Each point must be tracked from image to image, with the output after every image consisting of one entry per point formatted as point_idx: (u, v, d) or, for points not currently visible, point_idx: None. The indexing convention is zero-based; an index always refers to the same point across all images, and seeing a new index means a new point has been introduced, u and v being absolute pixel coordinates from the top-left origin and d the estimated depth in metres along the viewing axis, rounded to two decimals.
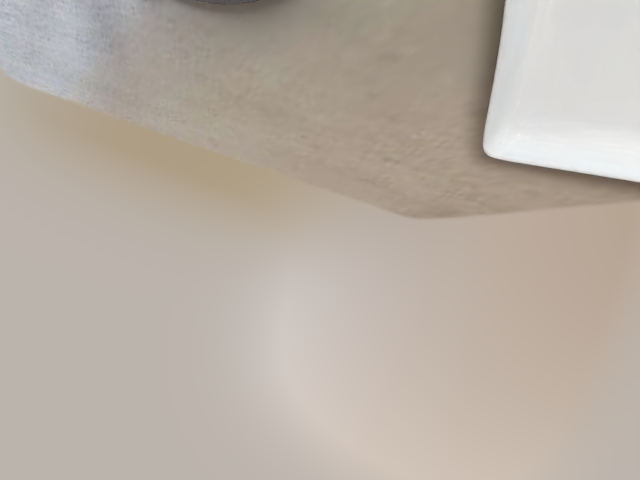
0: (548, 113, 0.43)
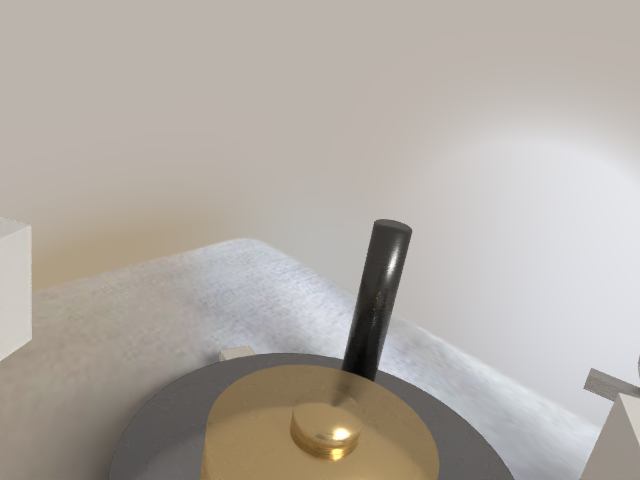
0: None
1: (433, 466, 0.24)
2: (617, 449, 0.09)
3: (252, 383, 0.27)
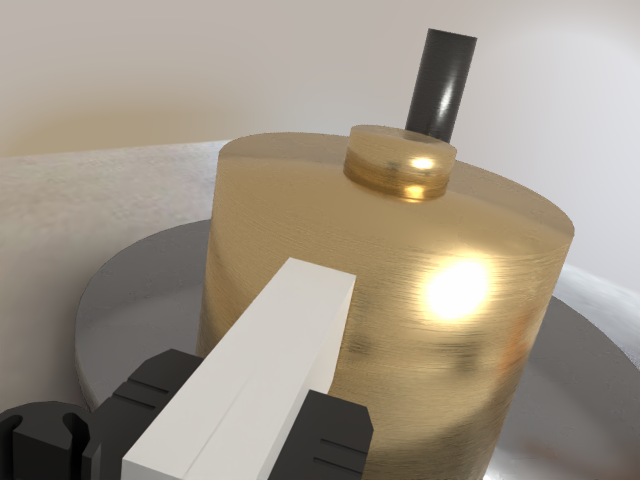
0: None
1: (563, 220, 0.16)
2: None
3: (283, 138, 0.19)
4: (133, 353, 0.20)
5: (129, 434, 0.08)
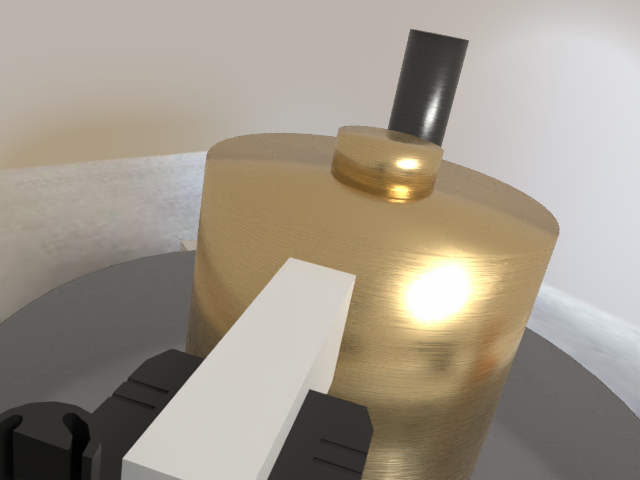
0: None
1: (548, 219, 0.16)
2: None
3: (271, 139, 0.19)
4: None
5: (129, 434, 0.08)
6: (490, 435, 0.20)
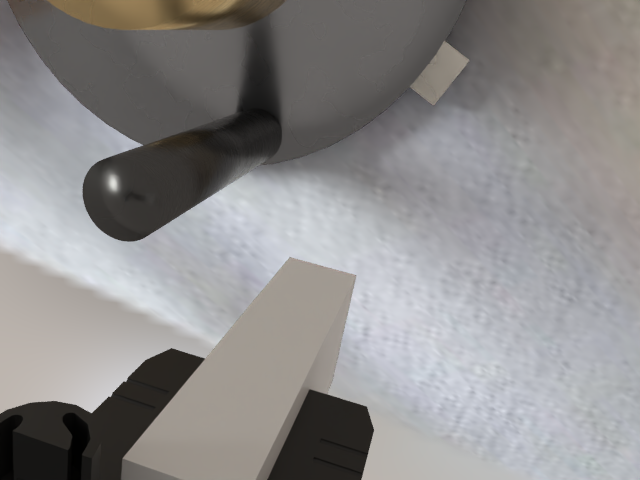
0: None
1: None
2: None
3: None
4: None
5: (129, 434, 0.08)
6: None
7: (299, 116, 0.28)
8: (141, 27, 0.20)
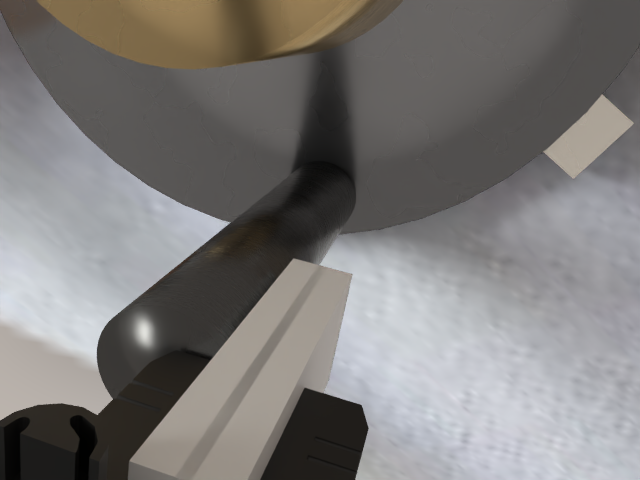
0: None
1: None
2: None
3: None
4: None
5: (135, 436, 0.08)
6: None
7: (382, 176, 0.21)
8: (199, 67, 0.13)
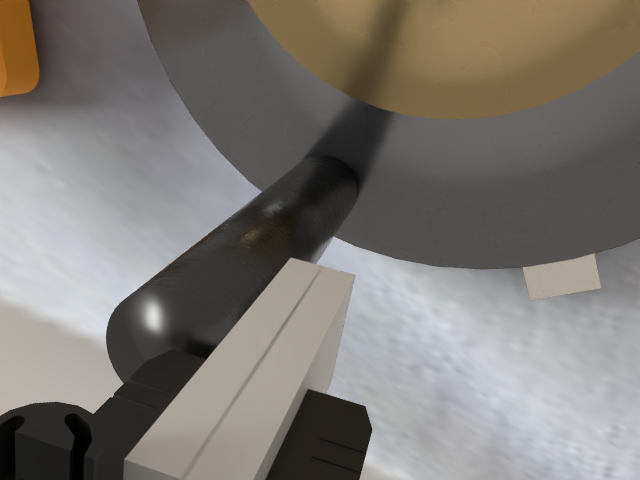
0: None
1: None
2: None
3: (603, 35, 0.11)
4: None
5: (131, 435, 0.08)
6: None
7: (385, 206, 0.21)
8: (329, 82, 0.12)
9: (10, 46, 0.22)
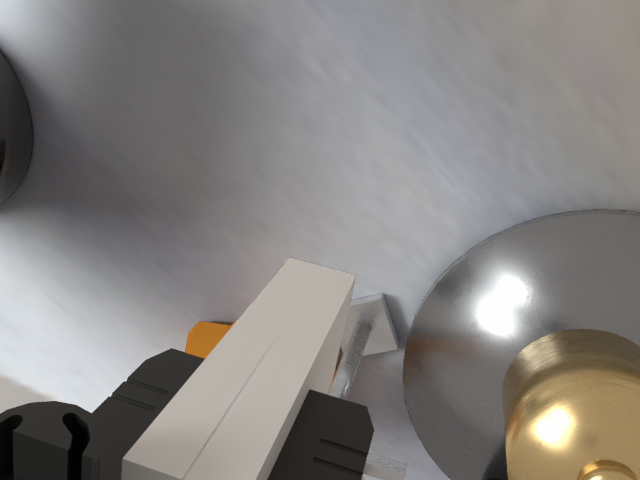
0: None
1: (525, 438, 0.31)
2: None
3: None
4: None
5: (129, 434, 0.08)
6: (511, 351, 0.38)
7: None
8: None
9: None
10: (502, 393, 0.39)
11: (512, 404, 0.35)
